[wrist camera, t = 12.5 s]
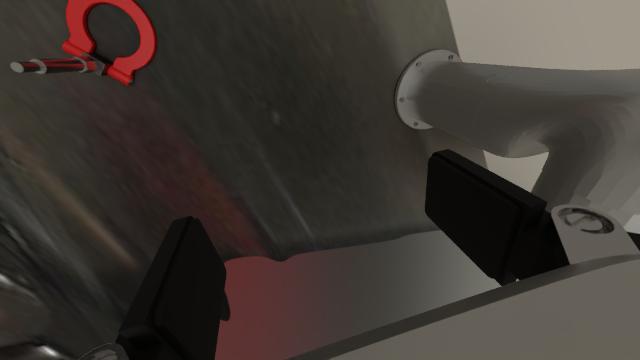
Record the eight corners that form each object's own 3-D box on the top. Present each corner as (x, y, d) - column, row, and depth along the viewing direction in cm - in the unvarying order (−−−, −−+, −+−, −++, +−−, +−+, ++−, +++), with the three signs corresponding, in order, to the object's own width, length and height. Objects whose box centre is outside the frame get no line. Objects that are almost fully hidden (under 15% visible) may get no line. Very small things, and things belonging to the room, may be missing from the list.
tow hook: (87, -32, 26) (58, 45, 28) (-35, -100, 15) (-68, 38, 17) (169, 25, 30) (139, 90, 32) (121, 5, 19) (79, 107, 21)
